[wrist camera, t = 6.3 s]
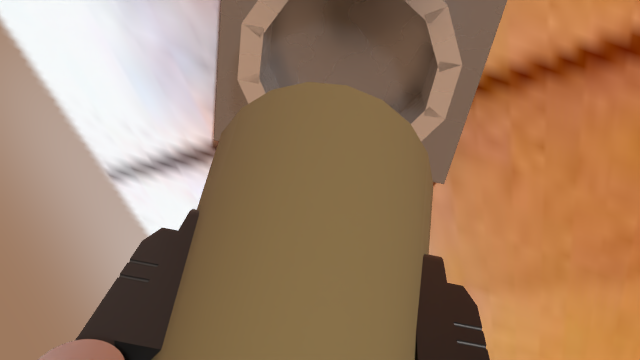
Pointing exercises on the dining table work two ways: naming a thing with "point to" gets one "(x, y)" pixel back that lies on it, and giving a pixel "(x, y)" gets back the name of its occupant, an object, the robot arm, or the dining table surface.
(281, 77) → the hub
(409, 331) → the cork
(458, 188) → the dining table surface
